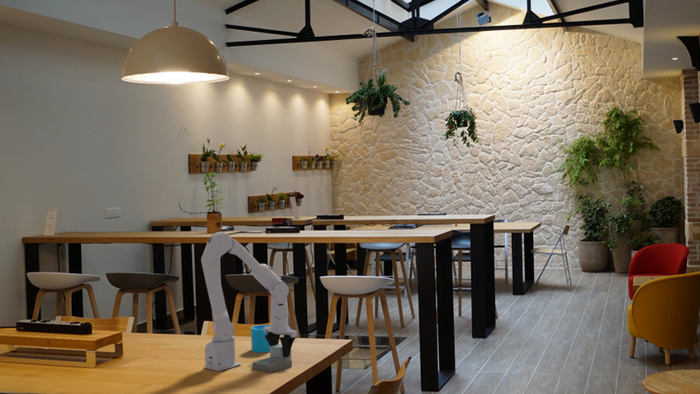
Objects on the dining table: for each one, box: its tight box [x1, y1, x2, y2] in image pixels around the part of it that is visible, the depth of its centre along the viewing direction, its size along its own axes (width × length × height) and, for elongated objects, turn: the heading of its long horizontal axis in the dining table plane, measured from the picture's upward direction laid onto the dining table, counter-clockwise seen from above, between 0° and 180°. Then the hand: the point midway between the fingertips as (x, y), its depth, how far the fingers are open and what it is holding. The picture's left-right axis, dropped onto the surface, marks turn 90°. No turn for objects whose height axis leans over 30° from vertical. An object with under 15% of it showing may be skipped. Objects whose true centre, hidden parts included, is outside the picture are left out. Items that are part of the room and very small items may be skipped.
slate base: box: [251, 356, 293, 374], centre depth 216 cm, size 9×9×2 cm
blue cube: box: [269, 342, 292, 360], centre depth 225 cm, size 5×5×5 cm
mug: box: [250, 324, 271, 353], centre depth 243 cm, size 12×8×8 cm
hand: (280, 356), depth 225 cm, fingers closed on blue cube, 5 cm apart
